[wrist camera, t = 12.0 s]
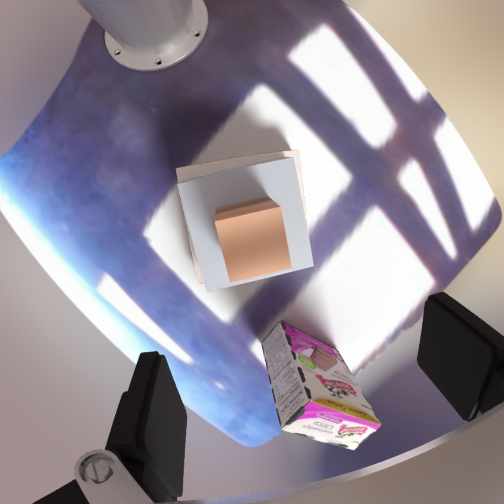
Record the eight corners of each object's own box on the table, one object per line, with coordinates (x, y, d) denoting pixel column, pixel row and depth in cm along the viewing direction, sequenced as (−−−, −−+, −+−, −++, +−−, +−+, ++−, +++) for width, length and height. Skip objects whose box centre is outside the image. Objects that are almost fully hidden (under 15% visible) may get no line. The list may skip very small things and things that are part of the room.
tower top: (182, 181, 32) (176, 184, 28) (285, 156, 32) (293, 157, 28) (208, 277, 35) (207, 292, 31) (303, 254, 35) (313, 266, 32)
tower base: (180, 167, 35) (175, 168, 31) (290, 150, 36) (298, 149, 32) (200, 271, 39) (198, 284, 35) (302, 254, 40) (311, 264, 36)
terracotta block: (215, 208, 29) (214, 221, 23) (268, 196, 29) (280, 206, 23) (228, 258, 30) (230, 282, 25) (278, 246, 31) (292, 268, 25)
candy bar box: (339, 348, 44) (384, 425, 28) (318, 371, 45) (354, 452, 29) (280, 316, 41) (311, 400, 26) (259, 343, 42) (278, 432, 27)
